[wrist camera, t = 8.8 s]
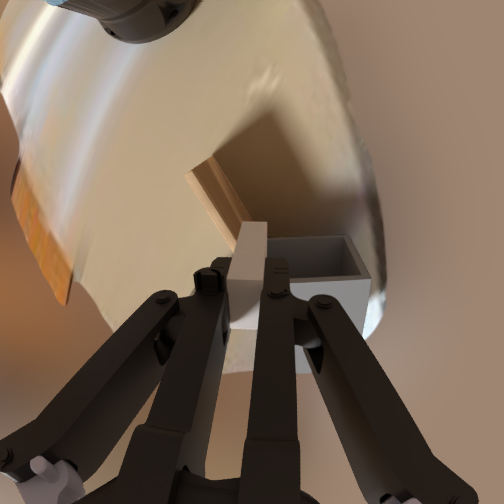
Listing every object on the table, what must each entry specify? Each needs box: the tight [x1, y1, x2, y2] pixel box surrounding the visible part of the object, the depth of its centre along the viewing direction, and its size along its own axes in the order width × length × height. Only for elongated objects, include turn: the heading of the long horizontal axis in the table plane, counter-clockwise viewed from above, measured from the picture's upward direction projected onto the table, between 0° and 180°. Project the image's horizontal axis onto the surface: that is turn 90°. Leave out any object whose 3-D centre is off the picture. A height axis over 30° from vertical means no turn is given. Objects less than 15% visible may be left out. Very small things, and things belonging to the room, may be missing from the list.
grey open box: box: [256, 235, 372, 374], centre depth 42 cm, size 16×14×13 cm
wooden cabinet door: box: [184, 156, 253, 253], centre depth 37 cm, size 2×14×11 cm, turn 29°
